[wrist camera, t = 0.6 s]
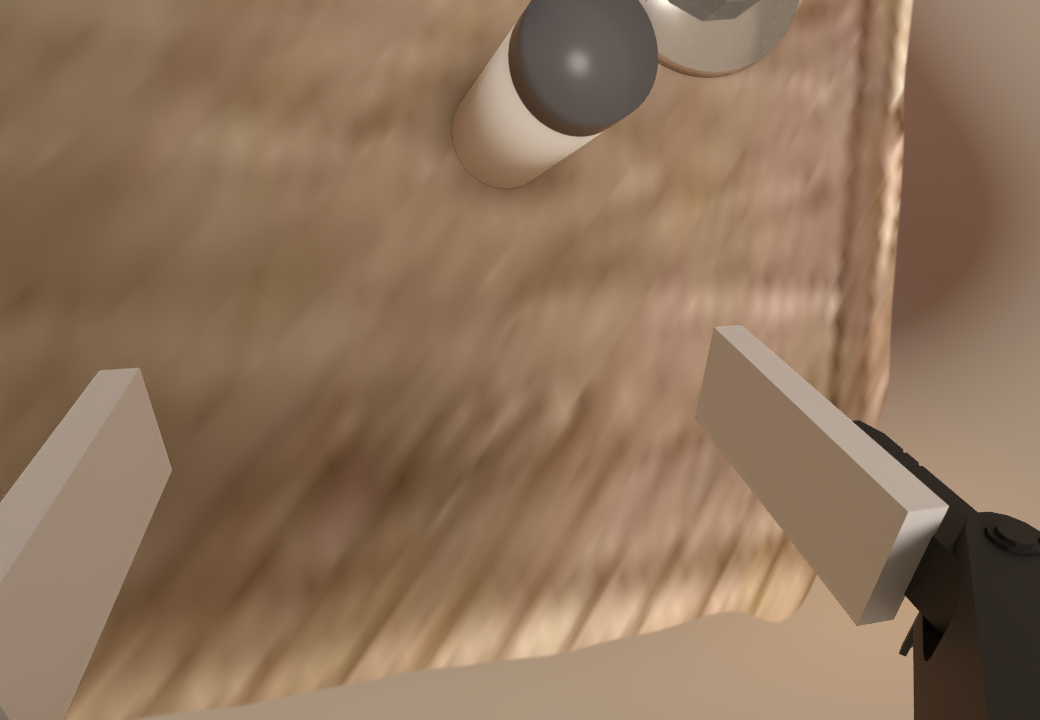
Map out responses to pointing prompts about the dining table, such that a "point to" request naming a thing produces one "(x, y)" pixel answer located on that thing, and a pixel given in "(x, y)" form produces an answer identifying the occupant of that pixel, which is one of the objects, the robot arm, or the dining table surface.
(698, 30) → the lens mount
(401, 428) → the dining table surface
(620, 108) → the lens
